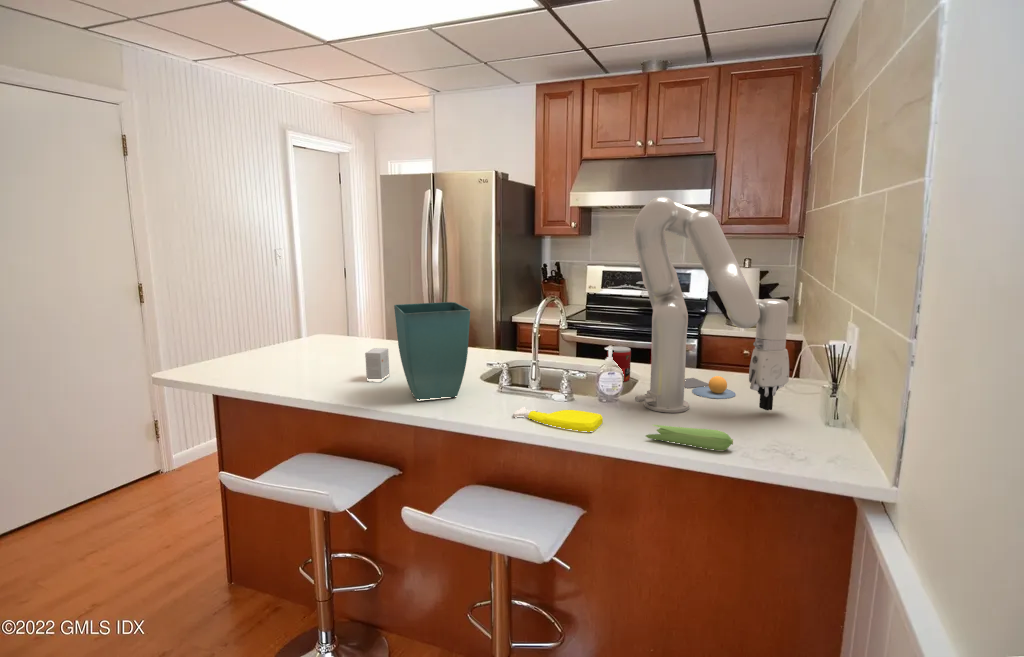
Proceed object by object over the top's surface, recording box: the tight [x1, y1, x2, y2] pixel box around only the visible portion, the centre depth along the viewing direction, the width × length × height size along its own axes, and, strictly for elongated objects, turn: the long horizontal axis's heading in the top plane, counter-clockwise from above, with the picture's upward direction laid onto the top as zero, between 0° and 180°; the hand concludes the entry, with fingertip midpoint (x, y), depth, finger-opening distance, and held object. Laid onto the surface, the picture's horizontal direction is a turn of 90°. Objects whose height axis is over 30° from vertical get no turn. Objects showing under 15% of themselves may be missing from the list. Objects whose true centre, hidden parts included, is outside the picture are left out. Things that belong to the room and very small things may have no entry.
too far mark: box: [684, 377, 709, 389], centre depth 186 cm, size 10×10×1 cm
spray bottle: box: [512, 406, 604, 432], centre depth 150 cm, size 3×11×24 cm
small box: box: [364, 347, 390, 379], centre depth 194 cm, size 8×6×10 cm
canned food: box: [606, 345, 632, 383], centre depth 191 cm, size 8×8×11 cm
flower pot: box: [393, 301, 471, 400], centre depth 173 cm, size 20×20×28 cm
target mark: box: [691, 386, 737, 400], centre depth 175 cm, size 13×13×1 cm
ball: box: [708, 375, 728, 394], centre depth 174 cm, size 6×6×6 cm
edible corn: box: [645, 424, 734, 451], centre depth 132 cm, size 5×20×5 cm
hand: (765, 408), depth 154 cm, fingers closed
